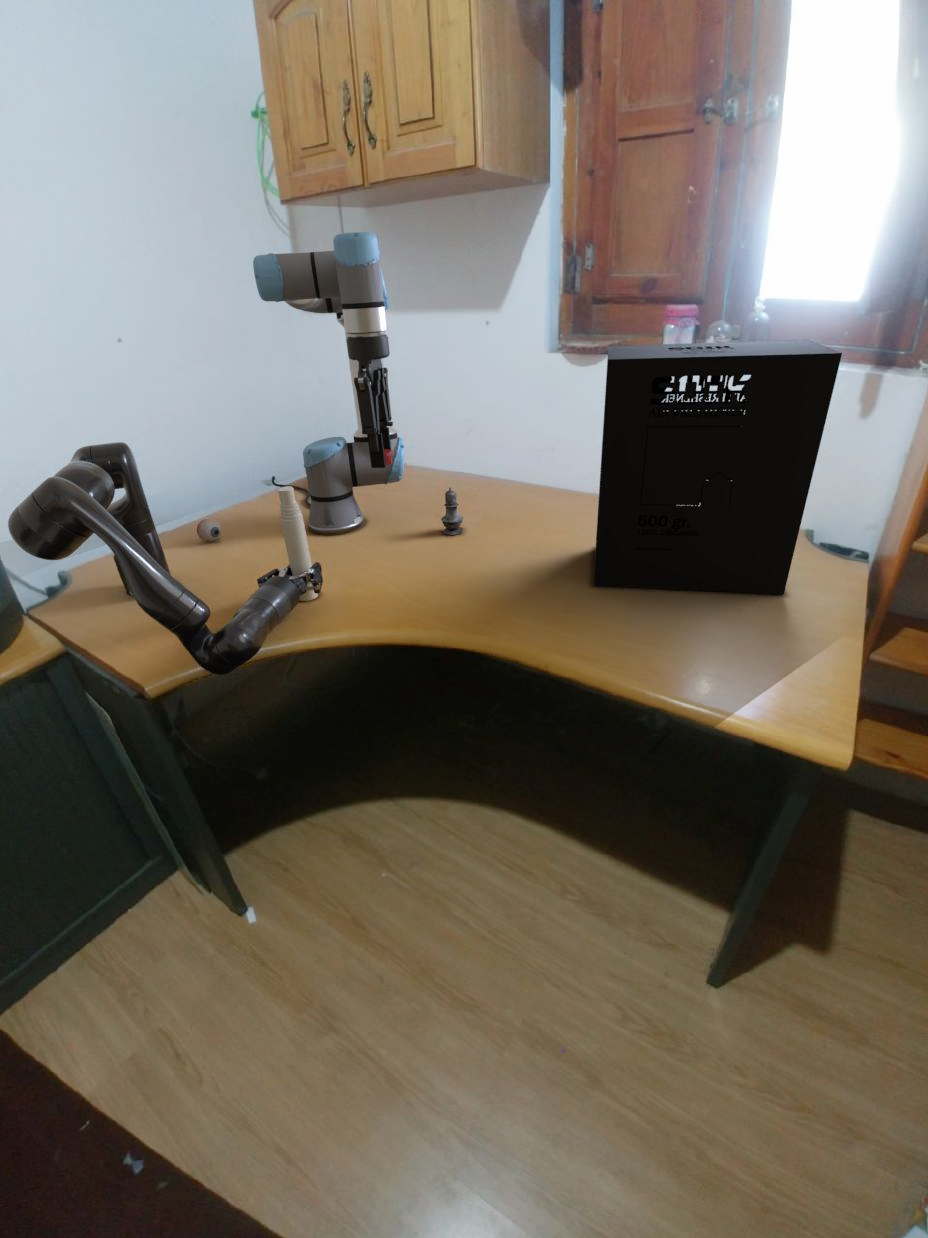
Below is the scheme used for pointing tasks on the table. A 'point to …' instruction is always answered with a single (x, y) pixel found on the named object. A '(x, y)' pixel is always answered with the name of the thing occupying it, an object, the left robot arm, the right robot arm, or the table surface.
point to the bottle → (295, 536)
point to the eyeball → (208, 530)
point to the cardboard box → (709, 463)
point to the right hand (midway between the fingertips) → (382, 463)
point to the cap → (388, 457)
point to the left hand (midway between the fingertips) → (307, 565)
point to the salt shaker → (451, 515)
